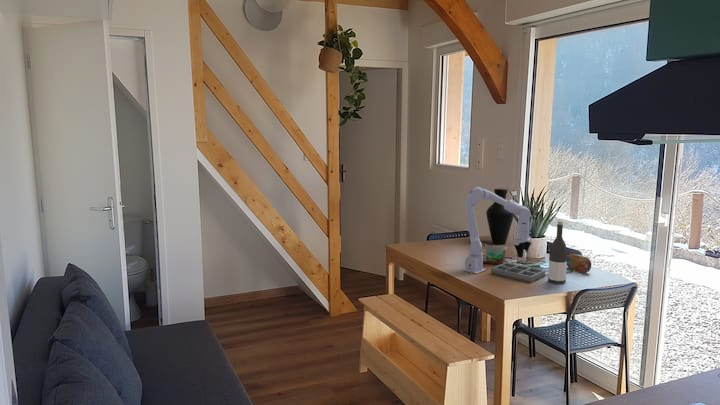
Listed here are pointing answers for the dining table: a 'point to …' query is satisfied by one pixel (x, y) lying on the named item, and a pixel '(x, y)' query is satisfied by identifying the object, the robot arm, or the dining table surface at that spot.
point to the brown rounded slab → (578, 263)
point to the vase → (499, 220)
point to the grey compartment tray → (518, 272)
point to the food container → (495, 254)
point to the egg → (523, 256)
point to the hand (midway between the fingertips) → (522, 256)
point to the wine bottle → (558, 258)
